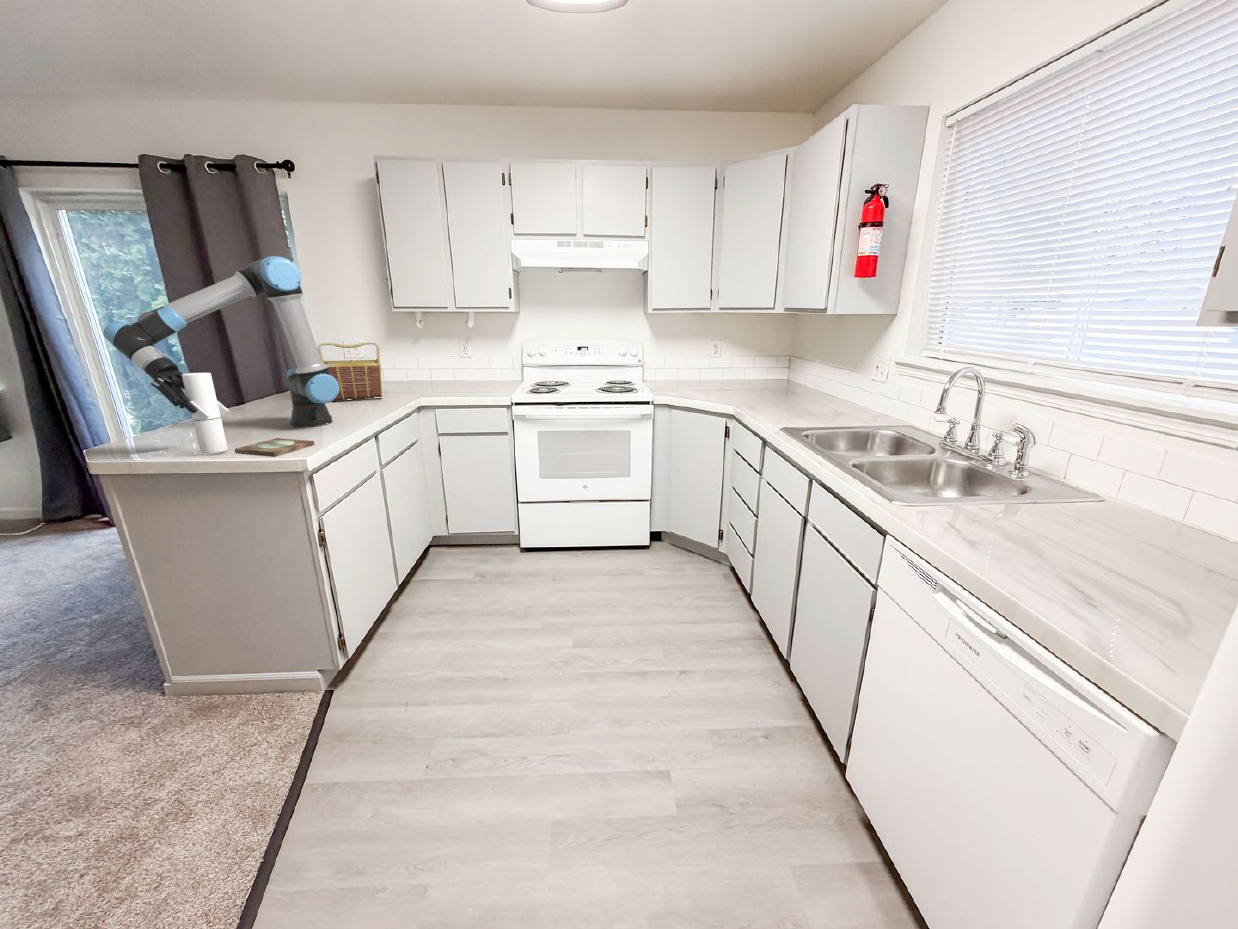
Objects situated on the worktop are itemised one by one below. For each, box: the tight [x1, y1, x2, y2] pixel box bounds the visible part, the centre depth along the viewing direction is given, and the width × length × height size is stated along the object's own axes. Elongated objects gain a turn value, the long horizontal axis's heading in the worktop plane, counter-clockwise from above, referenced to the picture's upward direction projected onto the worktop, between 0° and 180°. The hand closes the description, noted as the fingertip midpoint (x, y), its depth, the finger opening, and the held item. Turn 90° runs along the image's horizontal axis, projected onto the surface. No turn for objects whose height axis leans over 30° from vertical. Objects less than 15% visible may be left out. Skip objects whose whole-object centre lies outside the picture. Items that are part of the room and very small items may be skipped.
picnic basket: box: [317, 342, 383, 402], centre depth 270 cm, size 29×26×30 cm
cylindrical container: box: [182, 372, 229, 454], centre depth 161 cm, size 7×7×25 cm
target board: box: [234, 437, 315, 458], centre depth 171 cm, size 16×16×2 cm
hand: (216, 416), depth 161 cm, fingers closed on cylindrical container, 7 cm apart
